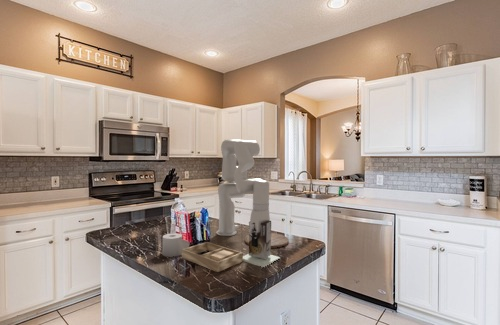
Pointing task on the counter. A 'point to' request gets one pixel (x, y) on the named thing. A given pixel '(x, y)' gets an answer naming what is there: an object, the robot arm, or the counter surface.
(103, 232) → the counter surface
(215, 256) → the offcut top
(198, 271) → the counter surface
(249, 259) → the pad
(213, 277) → the counter surface
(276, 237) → the trivet
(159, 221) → the counter surface
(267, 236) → the coffee box
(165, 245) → the toilet tissue
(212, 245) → the wooden tray
